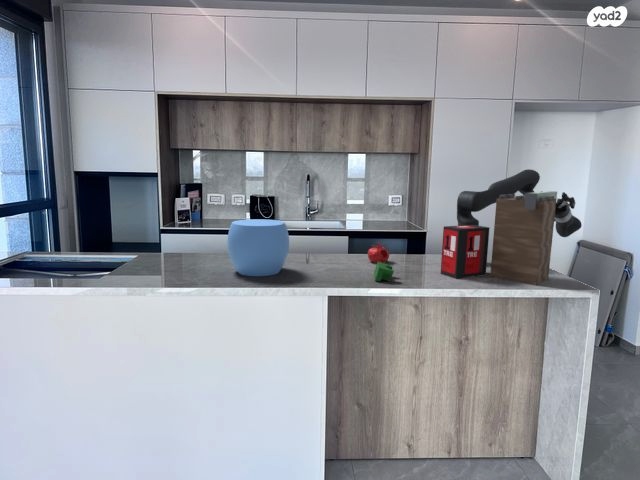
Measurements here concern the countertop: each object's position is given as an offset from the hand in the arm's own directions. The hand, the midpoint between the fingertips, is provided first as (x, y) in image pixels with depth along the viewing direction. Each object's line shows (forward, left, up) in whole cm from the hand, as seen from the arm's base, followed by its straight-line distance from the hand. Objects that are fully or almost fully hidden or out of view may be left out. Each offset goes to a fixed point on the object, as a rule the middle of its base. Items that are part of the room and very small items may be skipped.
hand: (551, 193), depth 191 cm
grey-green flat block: (-3, -10, -2) cm, 11 cm away
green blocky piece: (-55, -45, -34) cm, 79 cm away
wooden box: (-8, -14, -34) cm, 38 cm away
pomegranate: (-68, -17, -34) cm, 78 cm away
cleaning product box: (-29, -20, -34) cm, 49 cm away
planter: (-103, -62, -34) cm, 125 cm away
